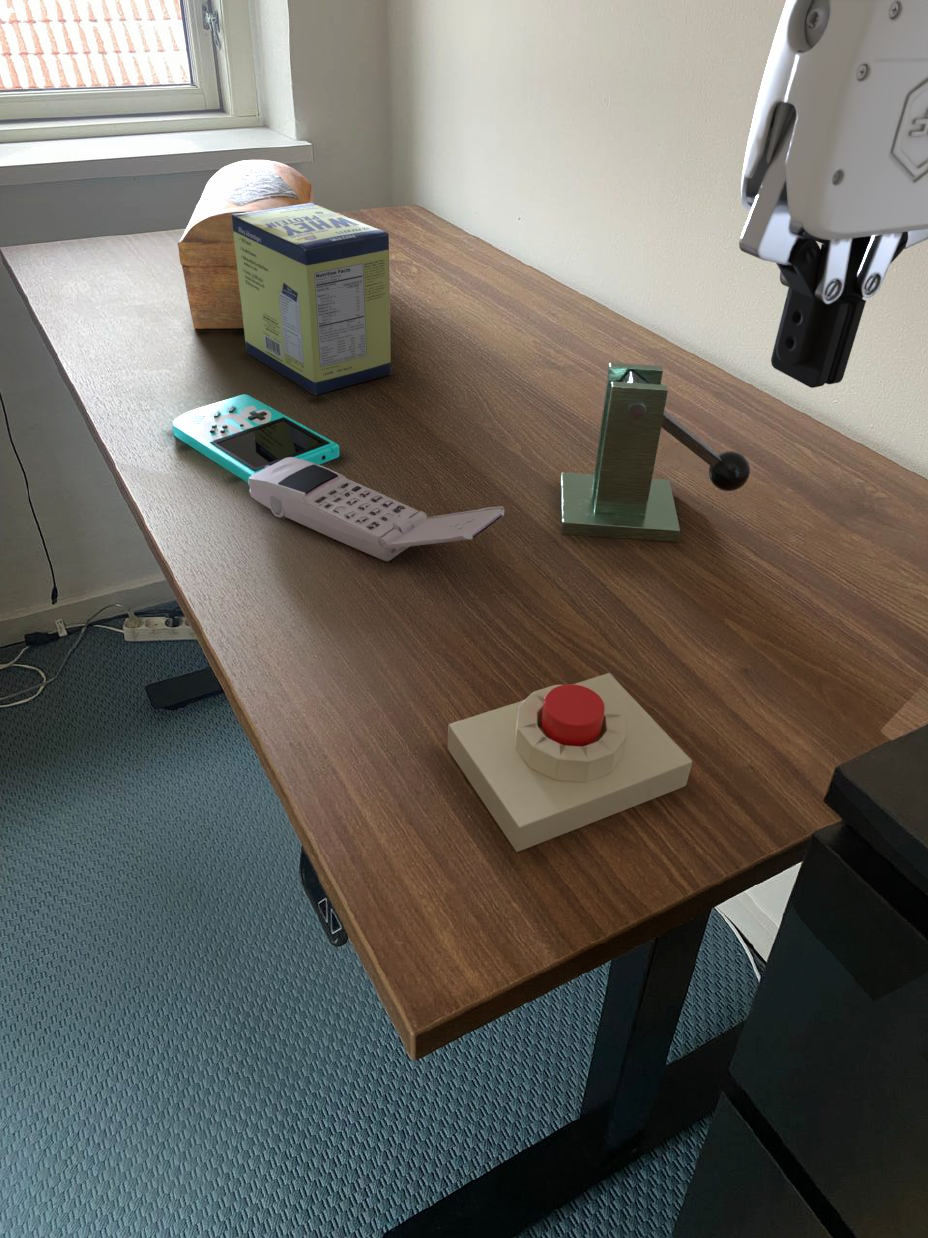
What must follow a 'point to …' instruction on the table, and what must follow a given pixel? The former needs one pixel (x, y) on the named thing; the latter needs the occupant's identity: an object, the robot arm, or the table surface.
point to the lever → (706, 451)
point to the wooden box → (230, 235)
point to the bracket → (624, 466)
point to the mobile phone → (358, 510)
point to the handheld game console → (250, 436)
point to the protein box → (314, 295)
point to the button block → (565, 765)
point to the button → (572, 715)
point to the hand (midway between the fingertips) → (804, 374)
